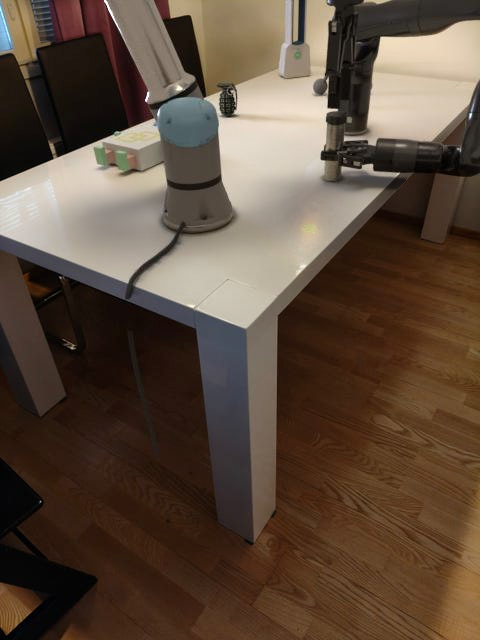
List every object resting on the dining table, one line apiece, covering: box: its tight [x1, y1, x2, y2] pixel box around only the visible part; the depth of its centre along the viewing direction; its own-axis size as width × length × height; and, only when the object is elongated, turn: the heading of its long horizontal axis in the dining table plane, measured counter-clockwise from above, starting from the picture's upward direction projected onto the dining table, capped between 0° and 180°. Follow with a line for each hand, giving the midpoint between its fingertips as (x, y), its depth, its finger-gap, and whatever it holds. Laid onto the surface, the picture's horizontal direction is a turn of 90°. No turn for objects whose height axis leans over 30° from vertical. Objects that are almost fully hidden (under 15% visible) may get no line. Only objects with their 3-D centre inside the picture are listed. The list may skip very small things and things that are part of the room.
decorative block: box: [92, 121, 164, 172], centre depth 138 cm, size 26×6×20 cm
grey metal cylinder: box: [323, 122, 345, 182], centre depth 117 cm, size 4×4×15 cm
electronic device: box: [278, 0, 312, 79], centre depth 204 cm, size 12×8×30 cm, turn 105°
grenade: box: [215, 82, 238, 117], centre depth 166 cm, size 7×6×10 cm
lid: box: [325, 110, 347, 125], centre depth 112 cm, size 5×5×2 cm
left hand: (338, 103), depth 111 cm, fingers open, 7 cm apart
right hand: (322, 151), depth 118 cm, fingers closed on grey metal cylinder, 4 cm apart
